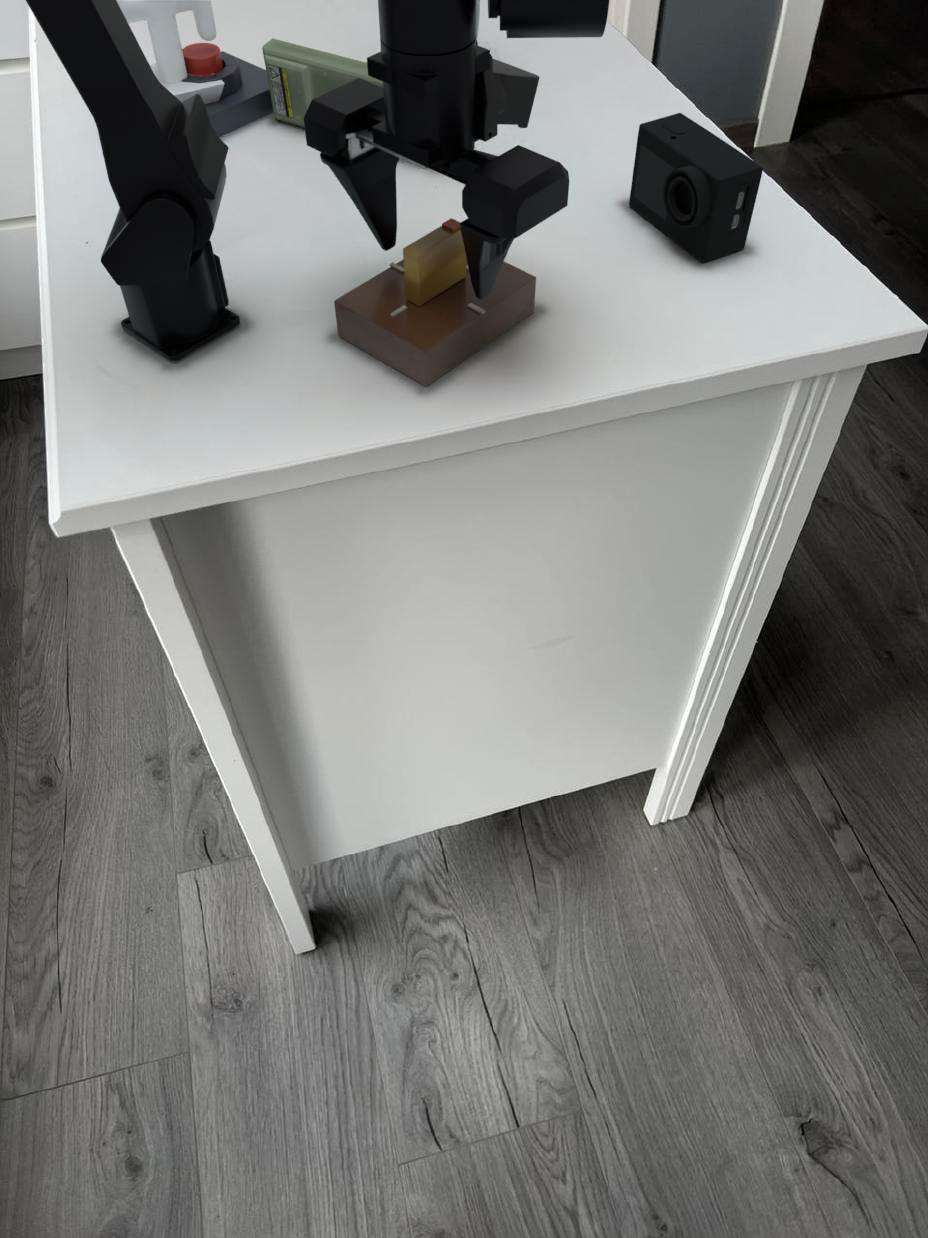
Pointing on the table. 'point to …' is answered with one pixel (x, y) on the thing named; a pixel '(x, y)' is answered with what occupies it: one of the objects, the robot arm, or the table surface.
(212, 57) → the release button
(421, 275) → the gold box
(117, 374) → the table surface
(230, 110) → the box
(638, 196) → the digital camera
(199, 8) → the white bracket
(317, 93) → the handheld radio
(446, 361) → the plate
